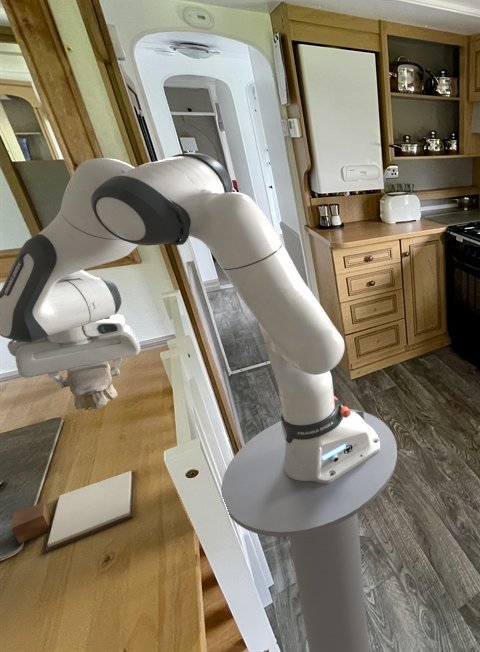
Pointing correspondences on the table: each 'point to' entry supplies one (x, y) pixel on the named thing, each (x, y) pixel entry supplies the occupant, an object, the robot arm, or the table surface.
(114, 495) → the tile
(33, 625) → the table surface
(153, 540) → the table surface
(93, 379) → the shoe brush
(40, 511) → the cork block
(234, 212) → the robot arm
